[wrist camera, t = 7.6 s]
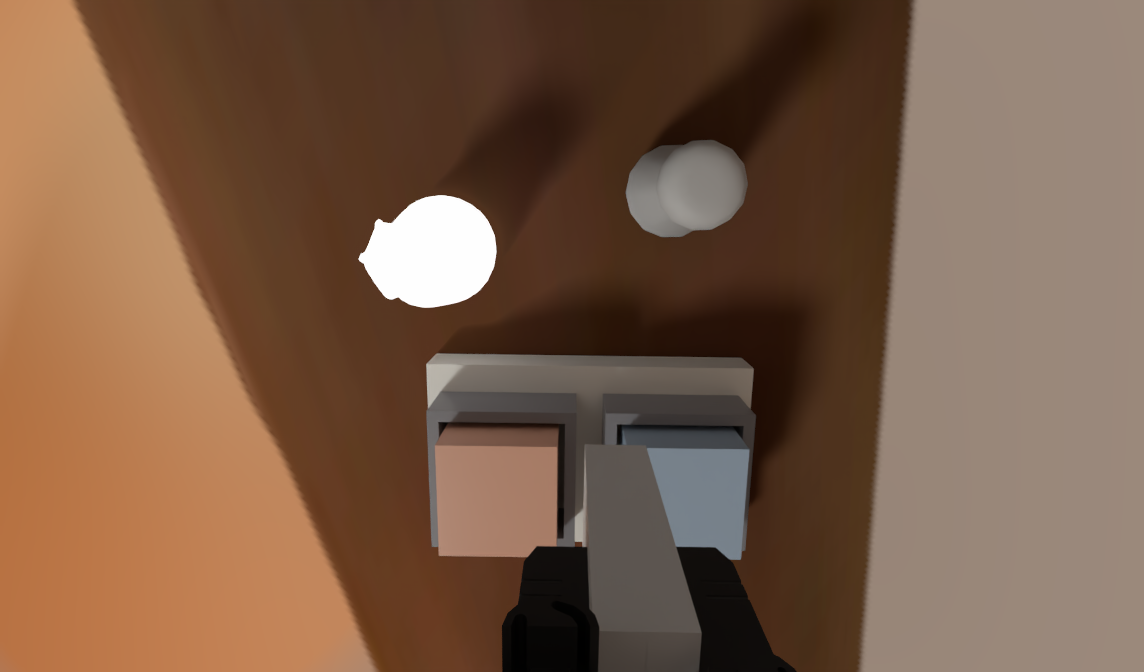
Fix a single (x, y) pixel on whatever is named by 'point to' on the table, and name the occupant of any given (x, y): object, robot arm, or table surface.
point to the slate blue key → (698, 481)
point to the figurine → (432, 252)
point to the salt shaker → (686, 188)
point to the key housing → (586, 406)
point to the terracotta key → (497, 488)
